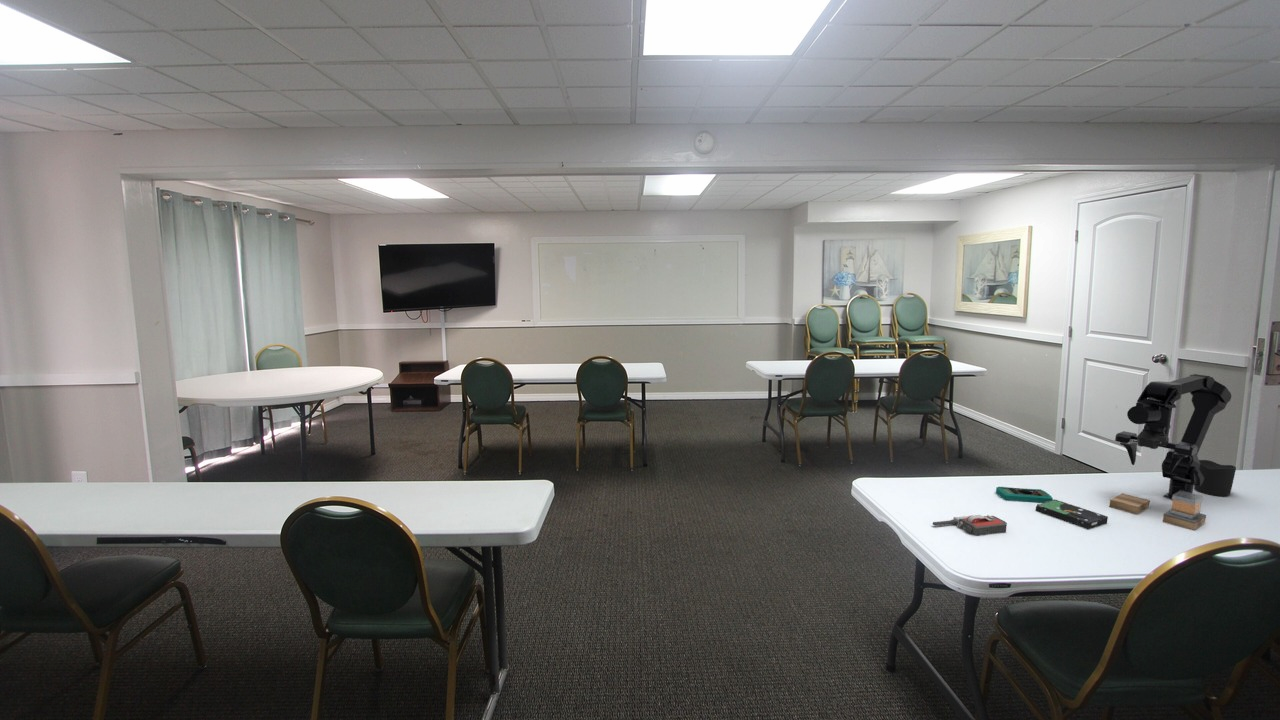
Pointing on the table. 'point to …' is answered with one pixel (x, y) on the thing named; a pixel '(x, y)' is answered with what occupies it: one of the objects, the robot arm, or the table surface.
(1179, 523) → the stand
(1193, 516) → the block
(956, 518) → the walkie-talkie
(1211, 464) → the pen holder
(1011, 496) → the digital multimeter
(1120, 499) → the stand
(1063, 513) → the disk drive
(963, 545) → the table surface
